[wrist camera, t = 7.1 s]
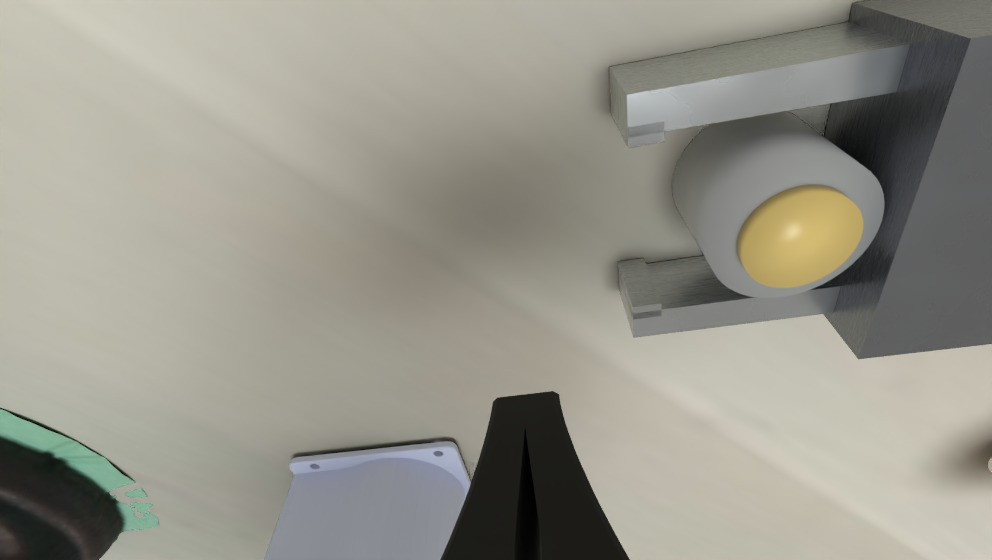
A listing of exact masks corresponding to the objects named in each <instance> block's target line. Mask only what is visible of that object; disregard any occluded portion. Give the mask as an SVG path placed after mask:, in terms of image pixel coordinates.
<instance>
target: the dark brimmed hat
mask: <svg viewBox="0 0 992 560" xmlns="http://www.w3.org/2000/svg"><path fill="white" fill-rule="evenodd" d="M133 483H135V482H134V481H132V480H131V479H130V478H128V477H126V476H124V475H123V474H121V473H120V472H119V471H118V470H117V469H116V468H115V467H113V466H112V465H111V464H110V463H109V461H108V460H107V459H106V458H104V457H102V456H99V455H98V454H96V453H95V452H93V451H91V450H89V449H87V448H86V447H84V446H83V445H81V444H79V443H78V442H76V441H74V440H72V439H70V438H67V437H65V436H63V435H60V434H57V433H55V432H52V431H49V430H47V429H44V428H42V427H40V426H38V425H36V424H33V423H31V422H29V421H26V420H23V419H21V418H18V417H16V416H14V415H12V414H10V413H9V412H7V411H5V410H2V409H0V560H99V559H100V558H101V557H102V556H103V555H104V554H105V552H106V551H107V550H108V549H109V548H110V546H111V545H112V543H114V542H115V541H116V540H117V538H118V535H119V534H120V533H121V532H123V531H127V530H134V529H139V530H142V529H146V528H151V527H156V526H159V525H158V517H157V516H155V515H153V514H151V512H149V511H148V509H149V508H150V507H151V506H153V504H151V503H138V502H134V503H130V505H131V506H134V507H131V506H128V505H127V504H125V503H121V502H119V501H117V500H116V499H115V498H116V495H114V496H111V495H110V494H109V492H110V491H111V490H112V489H114V488H118V487H122V486H124V485H128V484H133ZM125 495H126V496H128V497H147V495H146V494H145V492H144V491H143V490H142V488H139V489H136V490H134V491H128V492H126V493H125ZM133 508H136V510H137V512H140V513H146V514H147V513H149V514H147V515H146V514H144V516H143V517H141V518H139V517H137V516H134V512H135V511H133Z"/></svg>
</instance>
